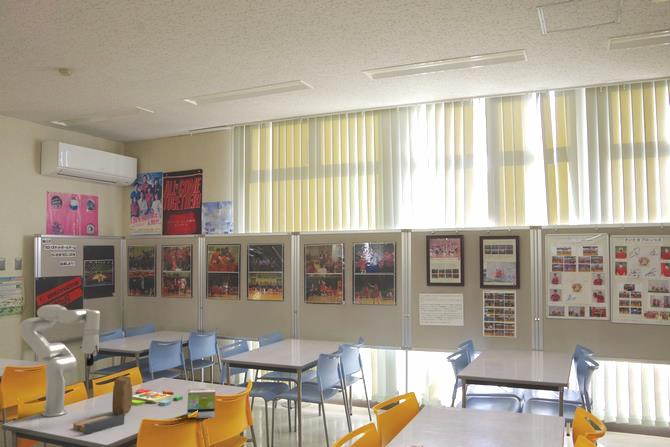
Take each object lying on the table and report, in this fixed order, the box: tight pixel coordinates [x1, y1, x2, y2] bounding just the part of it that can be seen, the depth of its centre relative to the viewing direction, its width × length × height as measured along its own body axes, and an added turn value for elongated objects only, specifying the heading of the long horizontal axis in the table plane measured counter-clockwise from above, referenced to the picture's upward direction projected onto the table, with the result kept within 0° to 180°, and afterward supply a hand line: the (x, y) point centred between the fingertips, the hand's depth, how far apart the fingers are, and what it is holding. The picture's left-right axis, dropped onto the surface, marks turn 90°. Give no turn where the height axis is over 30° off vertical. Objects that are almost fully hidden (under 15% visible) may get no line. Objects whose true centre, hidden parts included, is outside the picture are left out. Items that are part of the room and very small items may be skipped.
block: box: [112, 376, 133, 415], centre depth 314 cm, size 11×8×20 cm
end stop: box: [83, 413, 126, 435], centre depth 284 cm, size 2×22×5 cm, turn 148°
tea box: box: [186, 387, 216, 419], centre depth 310 cm, size 15×10×15 cm
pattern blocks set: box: [132, 388, 184, 407], centre depth 345 cm, size 38×34×3 cm
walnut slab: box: [72, 415, 109, 433], centre depth 288 cm, size 12×18×3 cm, turn 148°
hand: (89, 365), depth 303 cm, fingers closed
